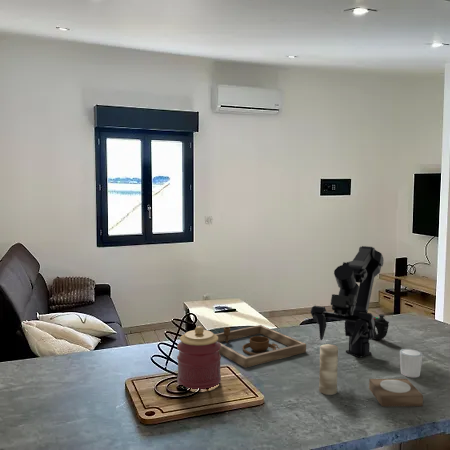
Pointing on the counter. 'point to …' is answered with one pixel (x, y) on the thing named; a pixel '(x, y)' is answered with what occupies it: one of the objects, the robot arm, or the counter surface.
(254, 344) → the place setting
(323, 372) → the birch pillar
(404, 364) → the white short cylinder
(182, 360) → the canister
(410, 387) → the walnut plinth
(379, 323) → the controller
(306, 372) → the counter surface
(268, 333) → the oak tray rim
